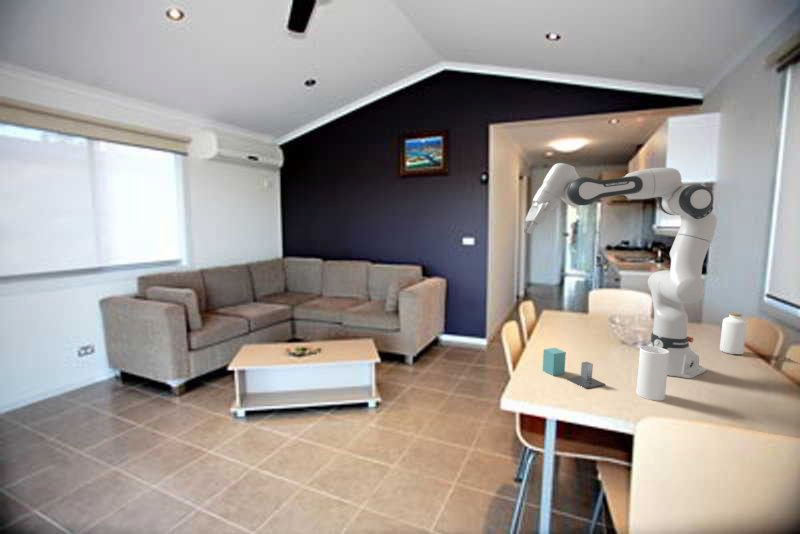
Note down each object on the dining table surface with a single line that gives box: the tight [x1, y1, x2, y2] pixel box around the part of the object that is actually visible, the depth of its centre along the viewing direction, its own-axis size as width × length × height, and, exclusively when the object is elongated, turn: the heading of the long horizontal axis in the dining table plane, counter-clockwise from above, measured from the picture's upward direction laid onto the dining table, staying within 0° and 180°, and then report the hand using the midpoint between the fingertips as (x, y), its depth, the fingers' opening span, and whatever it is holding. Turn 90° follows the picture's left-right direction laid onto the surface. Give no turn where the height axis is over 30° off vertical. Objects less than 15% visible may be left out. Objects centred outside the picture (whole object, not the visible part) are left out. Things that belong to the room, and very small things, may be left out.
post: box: [566, 361, 606, 390], centre depth 148 cm, size 9×9×7 cm
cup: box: [636, 345, 669, 402], centre depth 137 cm, size 8×8×16 cm
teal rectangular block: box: [542, 347, 567, 377], centre depth 157 cm, size 6×6×9 cm
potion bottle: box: [719, 312, 748, 355], centre depth 182 cm, size 8×8×18 cm
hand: (526, 233), depth 161 cm, fingers open, 8 cm apart
